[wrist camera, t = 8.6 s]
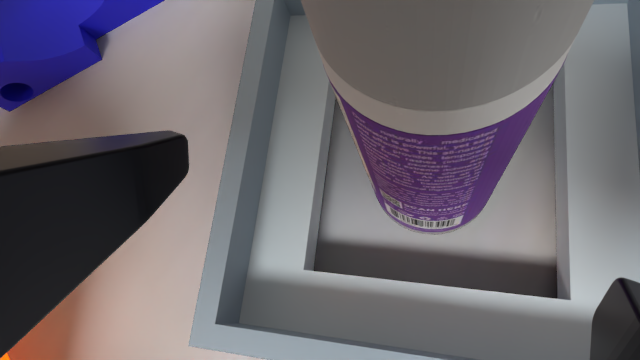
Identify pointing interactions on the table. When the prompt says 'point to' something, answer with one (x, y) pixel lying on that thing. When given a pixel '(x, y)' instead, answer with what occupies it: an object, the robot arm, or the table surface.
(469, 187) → the container
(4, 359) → the orange juice
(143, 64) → the table surface
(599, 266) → the walled box
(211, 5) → the table surface
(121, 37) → the table surface
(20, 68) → the cable clip
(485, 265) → the table surface
